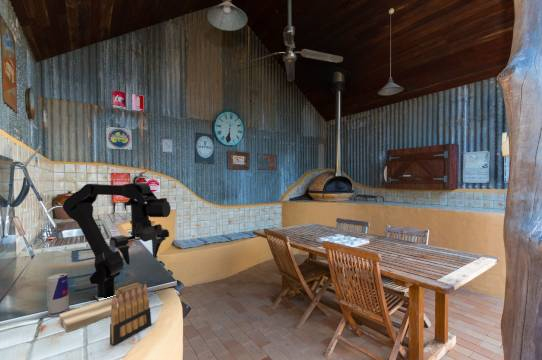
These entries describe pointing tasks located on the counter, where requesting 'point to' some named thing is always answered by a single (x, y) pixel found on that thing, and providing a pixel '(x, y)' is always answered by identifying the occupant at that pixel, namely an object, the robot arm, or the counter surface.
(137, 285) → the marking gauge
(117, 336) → the ammunition clip
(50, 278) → the energy drink
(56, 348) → the counter surface
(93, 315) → the maple board
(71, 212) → the robot arm
